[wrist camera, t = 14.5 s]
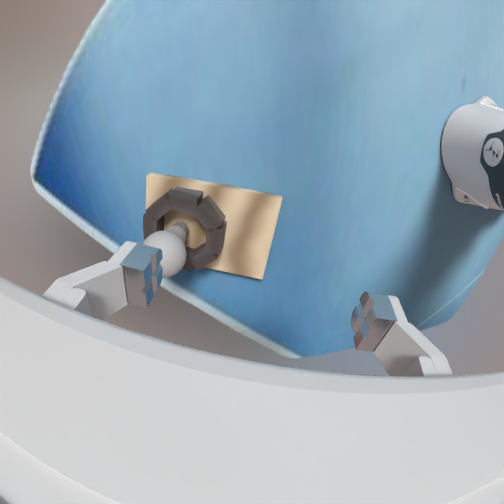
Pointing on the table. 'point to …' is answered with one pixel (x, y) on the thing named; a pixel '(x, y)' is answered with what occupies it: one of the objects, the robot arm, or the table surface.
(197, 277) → the table surface
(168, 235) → the lightbulb
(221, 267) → the socket board
